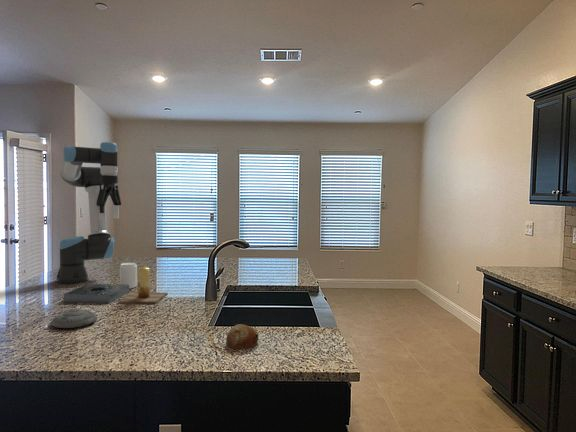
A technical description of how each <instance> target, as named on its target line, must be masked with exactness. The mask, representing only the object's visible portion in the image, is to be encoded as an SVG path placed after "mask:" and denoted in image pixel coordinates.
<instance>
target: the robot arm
mask: <svg viewBox="0 0 576 432" xmlns="http://www.w3.org/2000/svg"><path fill="white" fill-rule="evenodd" d="M118 150H119V149H118V144H117V143H116V142H111V141H108V142H106V141H105V142H104V141H102V142H101V143H100V147H87V146H86V147H85V146H84V147H83V146H74V145H71V146H70V145H69V146H68V145H67V146H64V147H63V148H62V159H63V161H64V165H63V166H62V168H61V171H60V177H61V179H62V180H63V181H64V182H65V183H67V184H68V185H70V186H71V187H77V188H84V191H85V192H86V193H87V194H88V195H87V196H88V213H89V227H90V230H89V231H90V233H89V234H88V235H87V238H85V237H84V236H82V235H81V236H71V237H66V238H63V239H61V240H60V241H59V247H58V249H59V269H58V272H57V275H56V277H55V280H56V281H55V282H56V283H57V284H58V283H59V284H76V283H81V282H86V281H87V280H89V274H88V271H87V268H86V266H85V261H93V260H95V261H96V260H105V259H110V258H112V256H113V255H114V251H115V238H114V237H112V236H111V235H112V234H111V233H110V232H108V221H107V220H108V218H107V206H106V202H107V201H108V198H109V196H110V199H111V201H112V219H114V220H115V219H120V206H122V201H121V196H120V192H119V186H118V185H116V184H118V182H119V181H118V180H119V179H118V178H119V177H118V176H117V175H118V170H119V167H118V153H119V151H118ZM83 164H96V165H97V164H99V165H100V167H99V166H95V167H94V166H83Z"/></svg>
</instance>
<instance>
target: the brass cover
mask: <svg viewBox="0 0 576 432" xmlns="http://www.w3.org/2000/svg"><path fill="white" fill-rule="evenodd" d="M150 275H151V268H150V267H149V266H140V267H137V292H138V298H148V297H150V292H151V276H150Z"/></svg>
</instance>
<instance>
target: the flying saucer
mask: <svg viewBox="0 0 576 432" xmlns="http://www.w3.org/2000/svg"><path fill="white" fill-rule="evenodd" d="M97 319H98V316H97V315H96V314H95V313H94V312H92V311H90V310H86V309H81V308H74V309H73V308H72V309H68V310H66V311H63V312H61V313H59V314H58V315H56V316H54V318H52V320H51V321H50V325H51V326H52V327H54V328H58V329H59V328H60V329H72V328H73V329H74V328H80V327H84V326H87V325H90V324H92V323H94V322H96V321H97Z"/></svg>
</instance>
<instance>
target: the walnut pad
mask: <svg viewBox="0 0 576 432" xmlns="http://www.w3.org/2000/svg"><path fill="white" fill-rule="evenodd" d="M168 294H169V293H168V292H156V291H155V292H154V291H152V292H151V291H150V297H148V298H138V291H133V292H131V293H130V294H128V295H126V296H125V297H122V298H121V299H119V300H118V304H126V305H127V304H133V305H134V304H136V305H137V304H139V305H156V304H158V303H159V302H160V301H162V300H163V299H164V298H165V297H167V296H168Z"/></svg>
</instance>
